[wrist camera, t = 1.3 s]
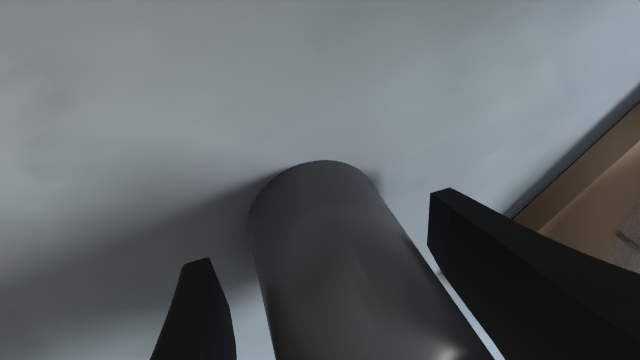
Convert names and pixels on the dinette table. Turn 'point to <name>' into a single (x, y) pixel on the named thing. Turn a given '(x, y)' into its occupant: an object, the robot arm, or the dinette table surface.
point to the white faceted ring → (627, 242)
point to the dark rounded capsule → (348, 274)
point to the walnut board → (592, 193)
